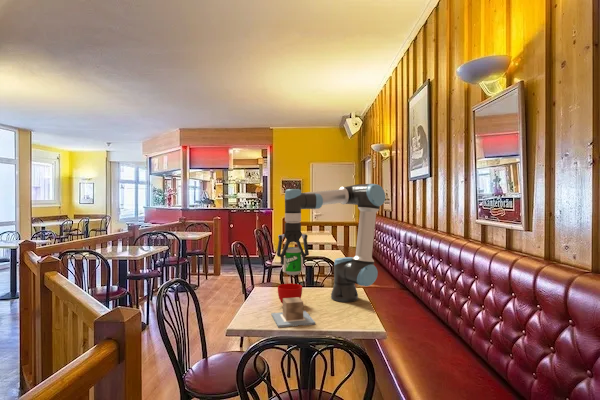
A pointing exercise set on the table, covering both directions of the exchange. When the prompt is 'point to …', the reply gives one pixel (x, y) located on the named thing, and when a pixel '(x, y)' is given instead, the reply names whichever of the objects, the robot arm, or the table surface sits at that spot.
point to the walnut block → (292, 308)
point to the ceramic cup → (289, 291)
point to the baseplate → (282, 321)
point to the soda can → (293, 260)
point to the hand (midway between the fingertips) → (292, 271)
